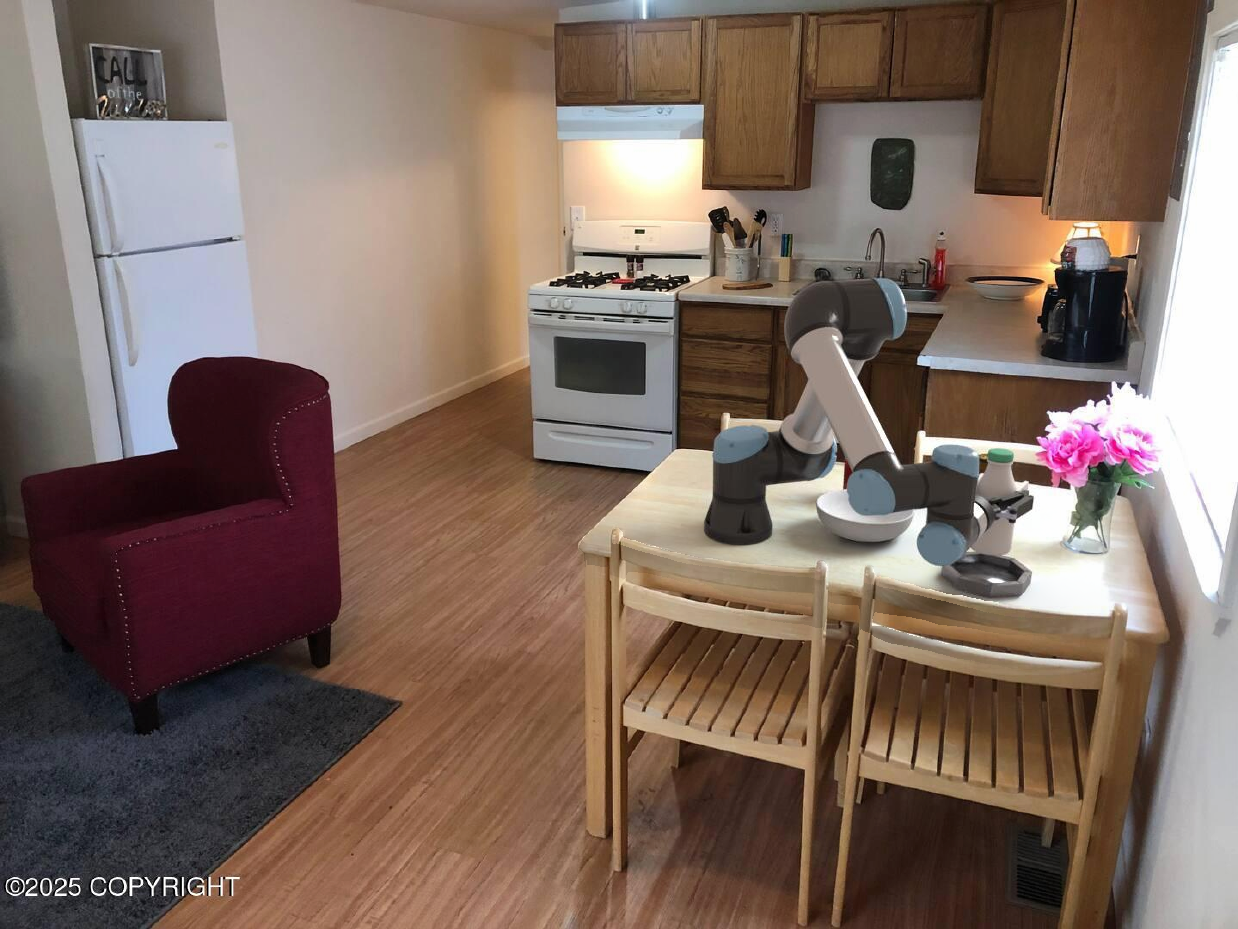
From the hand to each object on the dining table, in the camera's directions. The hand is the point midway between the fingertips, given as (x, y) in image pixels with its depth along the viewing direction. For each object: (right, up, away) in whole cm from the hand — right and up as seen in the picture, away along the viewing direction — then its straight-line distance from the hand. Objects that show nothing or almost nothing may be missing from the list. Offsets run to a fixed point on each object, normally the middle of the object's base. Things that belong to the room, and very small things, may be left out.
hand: (1004, 483), depth 187 cm
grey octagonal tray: (-3, -19, +2) cm, 19 cm away
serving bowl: (-21, -12, +25) cm, 35 cm away
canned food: (-17, -5, +45) cm, 48 cm away
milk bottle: (-3, -13, 0) cm, 13 cm away
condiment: (+11, -6, +40) cm, 42 cm away
